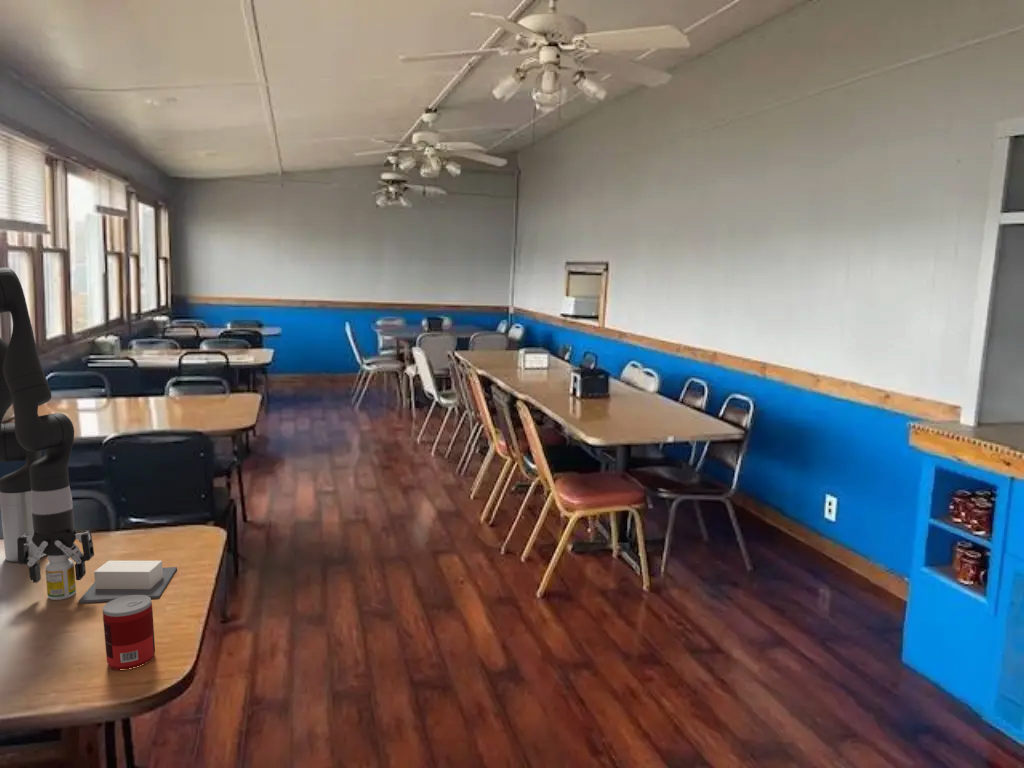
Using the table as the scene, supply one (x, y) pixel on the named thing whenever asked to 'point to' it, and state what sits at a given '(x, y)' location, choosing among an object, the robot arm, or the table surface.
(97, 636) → the table surface
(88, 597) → the mat
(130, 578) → the riser block
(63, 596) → the supplement bottle
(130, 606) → the canned food
